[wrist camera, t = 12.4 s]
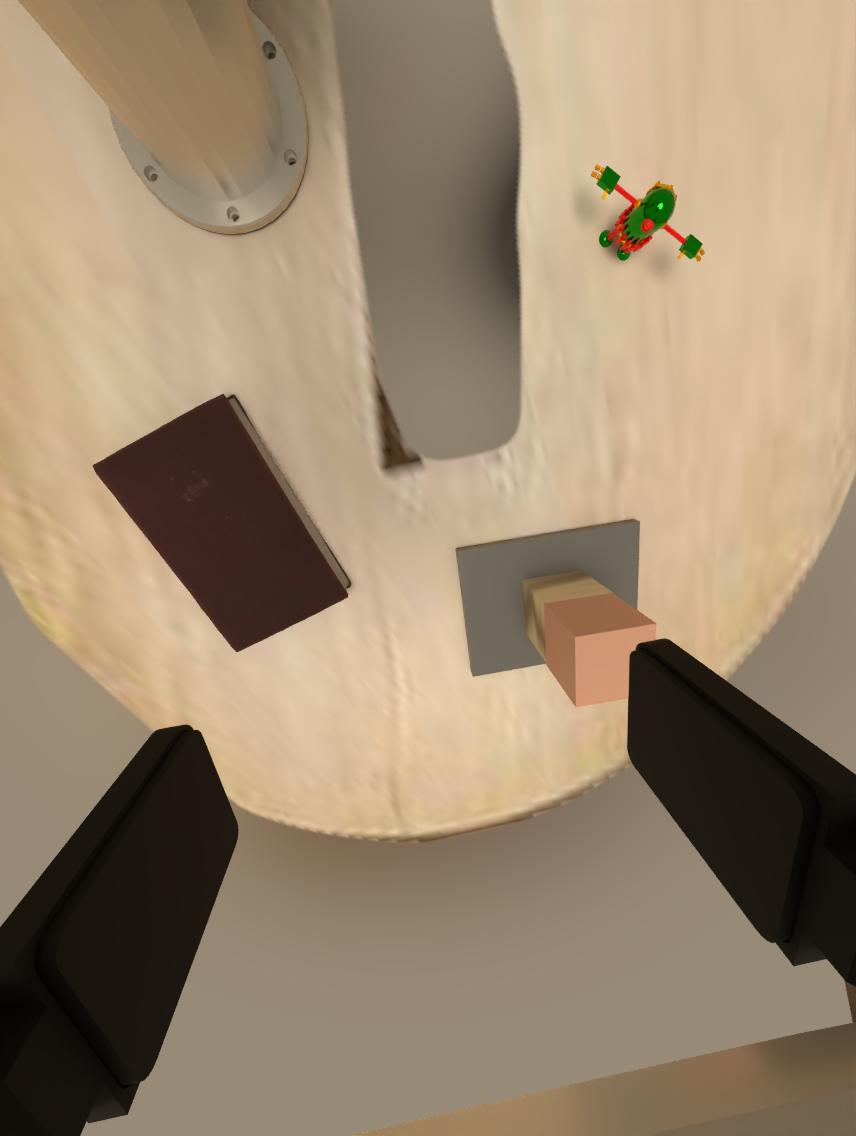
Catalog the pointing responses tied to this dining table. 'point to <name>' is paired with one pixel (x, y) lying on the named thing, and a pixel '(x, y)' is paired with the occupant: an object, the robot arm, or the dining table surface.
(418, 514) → the dining table surface
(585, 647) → the terracotta block
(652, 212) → the toy character
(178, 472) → the book
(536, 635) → the maple block
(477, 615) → the plate
